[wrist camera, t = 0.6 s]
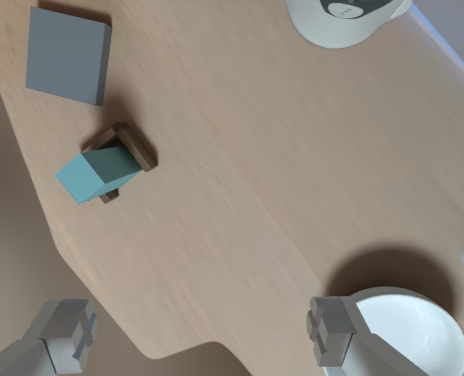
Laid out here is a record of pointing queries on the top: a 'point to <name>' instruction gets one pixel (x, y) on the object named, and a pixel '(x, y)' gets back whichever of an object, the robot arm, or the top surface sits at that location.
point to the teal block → (98, 172)
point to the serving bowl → (412, 329)
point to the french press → (462, 257)
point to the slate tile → (67, 56)
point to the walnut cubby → (132, 145)
